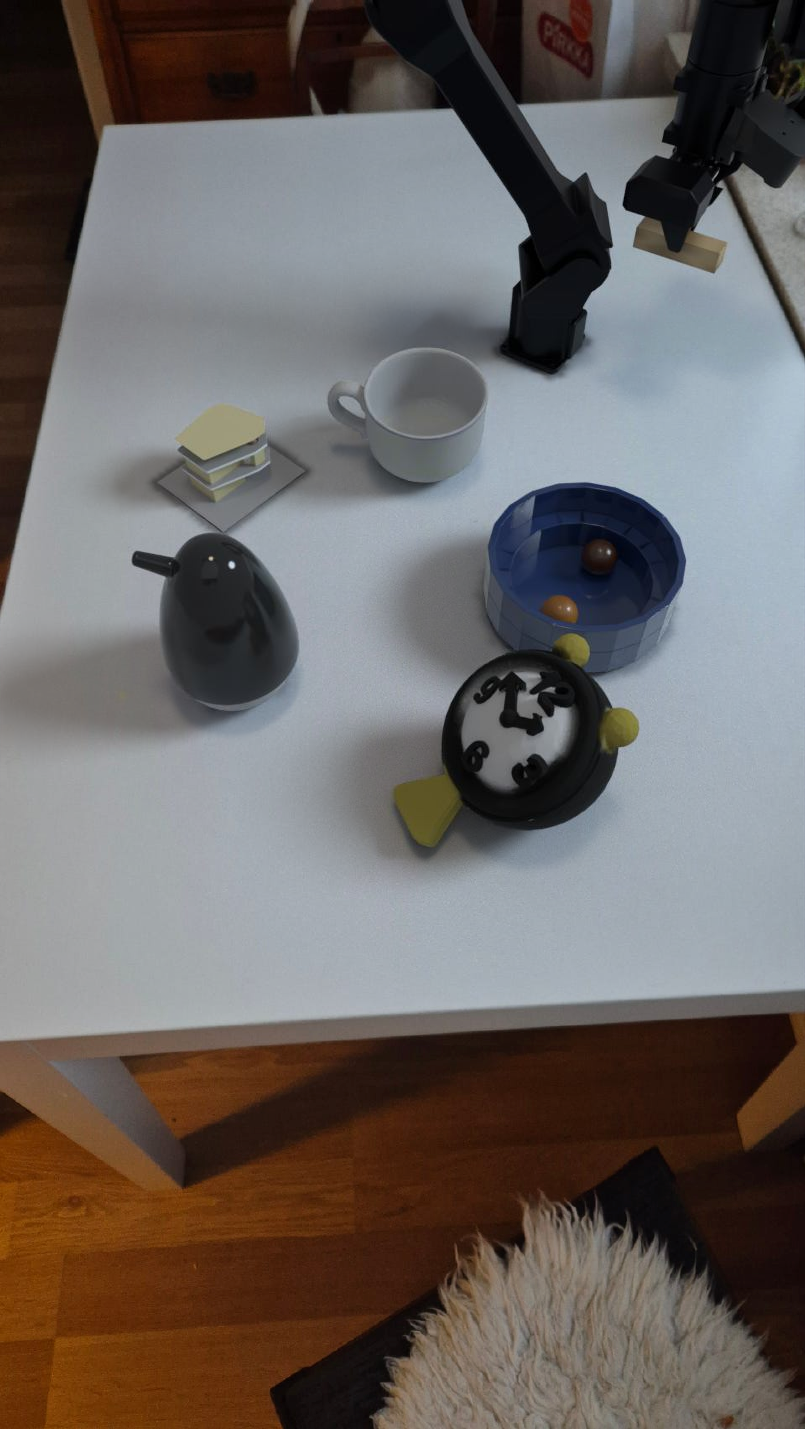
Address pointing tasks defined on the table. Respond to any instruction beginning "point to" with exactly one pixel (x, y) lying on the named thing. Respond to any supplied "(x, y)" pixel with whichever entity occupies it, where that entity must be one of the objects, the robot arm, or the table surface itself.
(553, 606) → the bead
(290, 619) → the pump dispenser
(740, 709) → the table surface
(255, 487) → the stacked layers on plate
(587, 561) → the bead
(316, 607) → the table surface
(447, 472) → the teacup
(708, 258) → the stick
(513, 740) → the alarm clock
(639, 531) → the bowl
